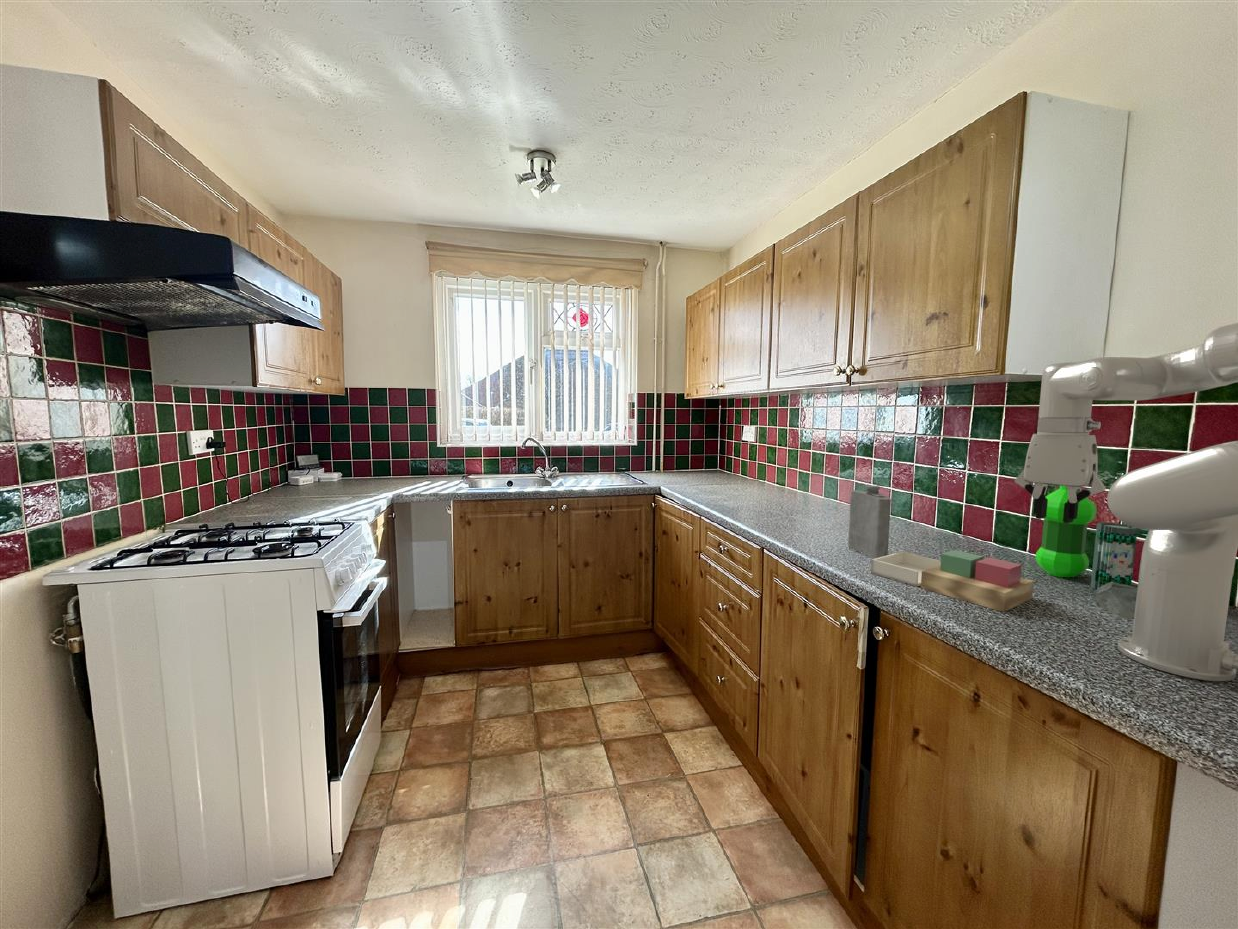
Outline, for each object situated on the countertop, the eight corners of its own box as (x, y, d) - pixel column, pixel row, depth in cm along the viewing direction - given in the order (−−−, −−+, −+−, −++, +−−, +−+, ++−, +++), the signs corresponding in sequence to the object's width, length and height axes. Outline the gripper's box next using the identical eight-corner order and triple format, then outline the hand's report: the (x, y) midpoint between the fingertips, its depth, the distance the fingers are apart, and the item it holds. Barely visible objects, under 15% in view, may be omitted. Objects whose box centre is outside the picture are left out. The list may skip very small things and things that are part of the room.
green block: (982, 573, 109) (983, 556, 109) (969, 578, 106) (971, 560, 106) (953, 566, 114) (954, 550, 114) (940, 570, 111) (941, 553, 111)
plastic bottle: (1091, 584, 114) (1102, 479, 111) (1032, 575, 121) (1041, 475, 118) (1087, 574, 121) (1097, 475, 119) (1032, 565, 128) (1041, 472, 126)
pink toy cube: (1020, 582, 103) (1021, 564, 103) (1007, 587, 100) (1009, 569, 100) (987, 574, 108) (988, 557, 108) (974, 579, 105) (976, 561, 105)
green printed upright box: (1098, 592, 109) (1105, 527, 107) (1086, 583, 114) (1093, 521, 113) (1135, 596, 106) (1142, 529, 105) (1120, 587, 112) (1128, 524, 110)
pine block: (1032, 598, 105) (1033, 580, 105) (1003, 612, 98) (1005, 593, 97) (951, 577, 119) (952, 561, 118) (920, 587, 111) (921, 571, 111)
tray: (946, 576, 119) (947, 562, 119) (916, 586, 112) (917, 571, 112) (901, 564, 129) (902, 551, 128) (870, 573, 122) (871, 559, 121)
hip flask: (845, 547, 146) (849, 481, 144) (858, 547, 146) (861, 481, 144) (878, 563, 130) (882, 490, 128) (892, 563, 130) (897, 489, 128)
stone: (1186, 629, 93) (1147, 596, 102) (1192, 612, 91) (1151, 580, 100) (1118, 627, 96) (1085, 596, 105) (1122, 611, 94) (1089, 580, 103)
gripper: (1129, 428, 89) (1118, 526, 90) (1019, 426, 103) (1011, 511, 105) (1116, 428, 85) (1105, 531, 87) (1003, 426, 99) (996, 514, 101)
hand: (1054, 519), depth 96 cm, fingers open, 3 cm apart
